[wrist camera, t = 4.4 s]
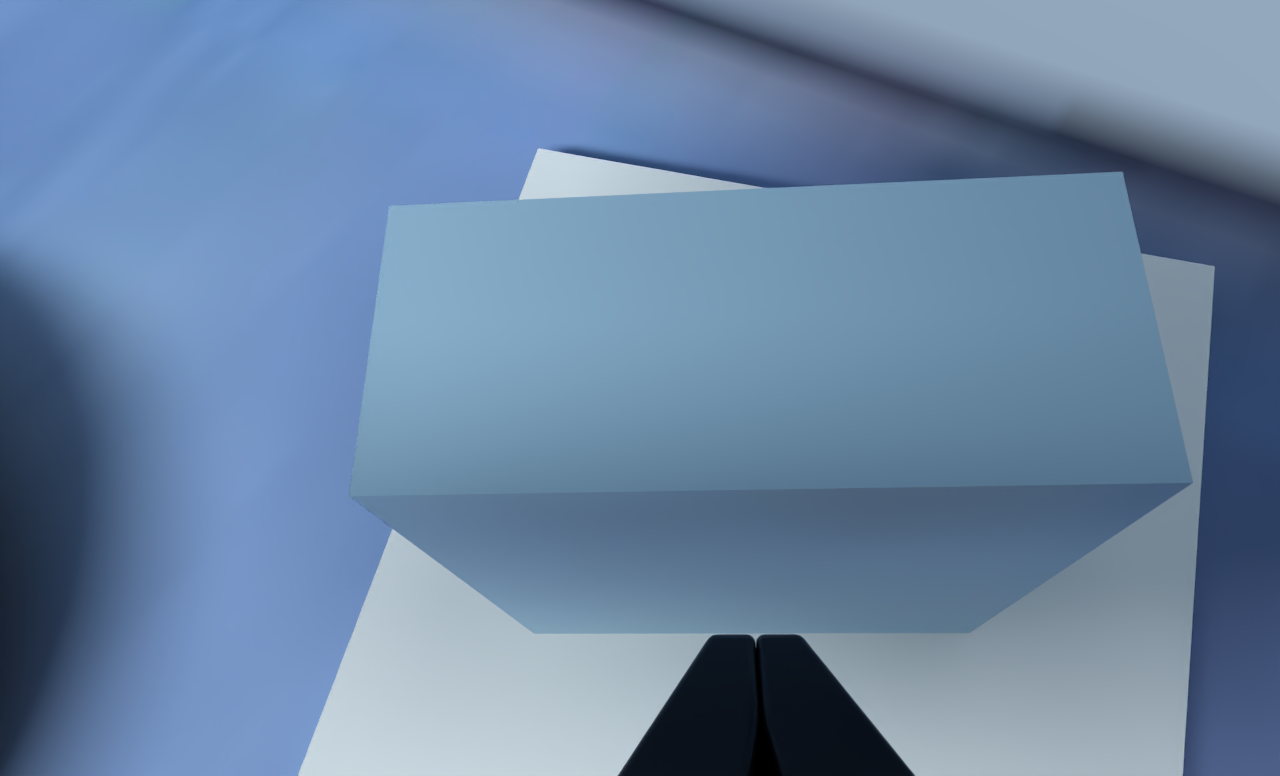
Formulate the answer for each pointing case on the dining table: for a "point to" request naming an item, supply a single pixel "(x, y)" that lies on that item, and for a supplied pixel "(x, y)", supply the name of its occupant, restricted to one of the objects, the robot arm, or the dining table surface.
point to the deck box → (767, 401)
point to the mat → (862, 662)
